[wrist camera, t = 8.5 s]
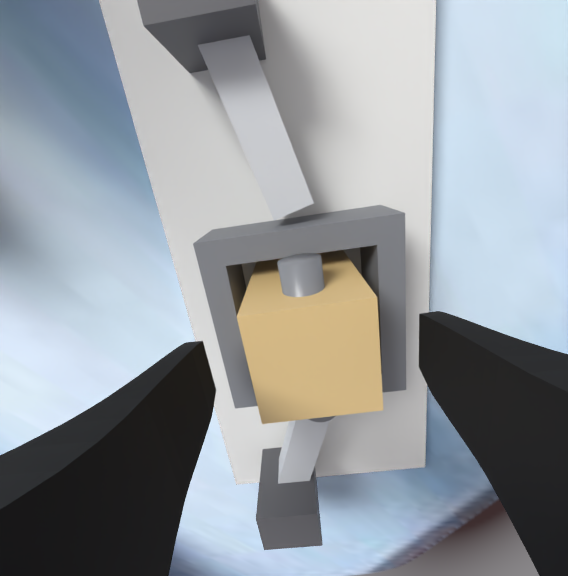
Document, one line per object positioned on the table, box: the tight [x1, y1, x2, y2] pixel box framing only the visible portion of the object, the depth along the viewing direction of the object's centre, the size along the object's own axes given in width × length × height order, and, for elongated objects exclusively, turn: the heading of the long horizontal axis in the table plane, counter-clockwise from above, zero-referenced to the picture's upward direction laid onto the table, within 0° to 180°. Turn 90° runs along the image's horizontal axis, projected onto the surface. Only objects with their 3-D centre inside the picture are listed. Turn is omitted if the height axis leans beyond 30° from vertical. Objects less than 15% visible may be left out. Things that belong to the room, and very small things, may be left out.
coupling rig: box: [99, 0, 436, 550], centre depth 13 cm, size 25×12×5 cm, turn 8°
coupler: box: [237, 250, 383, 424], centre depth 12 cm, size 6×4×6 cm, turn 9°
